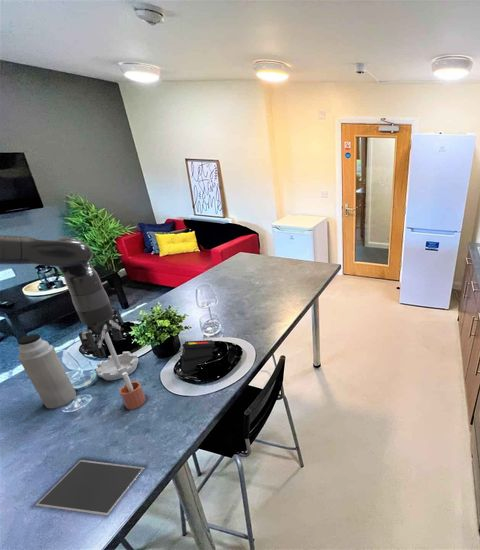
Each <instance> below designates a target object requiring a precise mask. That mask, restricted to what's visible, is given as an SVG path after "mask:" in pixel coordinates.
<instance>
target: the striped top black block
mask: <svg viewBox="0 0 480 550" xmlns="http://www.w3.org/2000/svg"><path fill="white" fill-rule="evenodd" d="M215 343H216V342H214V341H213V339H208V340H207V339H206V340H205V339H204V340H186V341H184V343H182V347H183V348H182V351H181V355H180V356H179V358H180V360H181V367H180V371H181V372H182V374H183V376H184V378H188V377H191V376H192V375H194V374H196V373H198V372H199V371H194V370H195V369H196V366H197V365H198V364H200V363H203V362H206V361H208V360H210V359H212V360H213V357H214V354H213V351H214V349H215V348H216V345H215ZM192 371H193V372H192ZM185 374H187V375H185Z"/></svg>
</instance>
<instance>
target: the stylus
mask: <svg viewBox="0 0 480 550" xmlns="http://www.w3.org/2000/svg"><path fill="white" fill-rule="evenodd" d="M122 376H123V381H124V383H125V385H126V386H127V389H128V391H129V392H132V391H133V390H134V389H133V387H132V384H131V382H132V381H131V379H130V377H129V375H128V374H127V372H124V373H122Z"/></svg>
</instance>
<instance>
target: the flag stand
mask: <svg viewBox="0 0 480 550" xmlns="http://www.w3.org/2000/svg"><path fill="white" fill-rule="evenodd" d="M104 341H105V343H106V345H107V348H108V350H109V353H110V355H108V358H107V359H106V360H100V361H99V362H98V363H97V365H96V366H97V368H95V372H96V374H97V376H98V377H100V378H103V380H105V381H116V380H120V379H122V378H123V376H122V373H124V372H127V374H128V376H129V375H131V374H132V373H133V372H134V371H135V370H136V369H137V366H138V363H139V357H138V355H137V353H136V352H133V353H131V351H122V354H117V352H116V350H115V347H114V345H113V342H112V339H111V337H110V334H109V331H108V332H107V333H106V334H105V337H104ZM123 379H124V378H123Z"/></svg>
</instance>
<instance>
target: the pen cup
mask: <svg viewBox="0 0 480 550" xmlns="http://www.w3.org/2000/svg"><path fill="white" fill-rule="evenodd" d="M131 384H132V387H133V389H134V390H133V391H132V392H129V391H128V389H127V386H126V384H124V385H123V386H122V387H120V389H119V394H120V397H121V399H122V402H123V404H124V407H125V408H126V409H127V410H134V409H137V408H139V407H141V406H142V405H143V404H144V403H145V402H146V400H147V398H146V395H145V392H144V389H143V387H142V385H141V383H140V382H139V381H131Z"/></svg>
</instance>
